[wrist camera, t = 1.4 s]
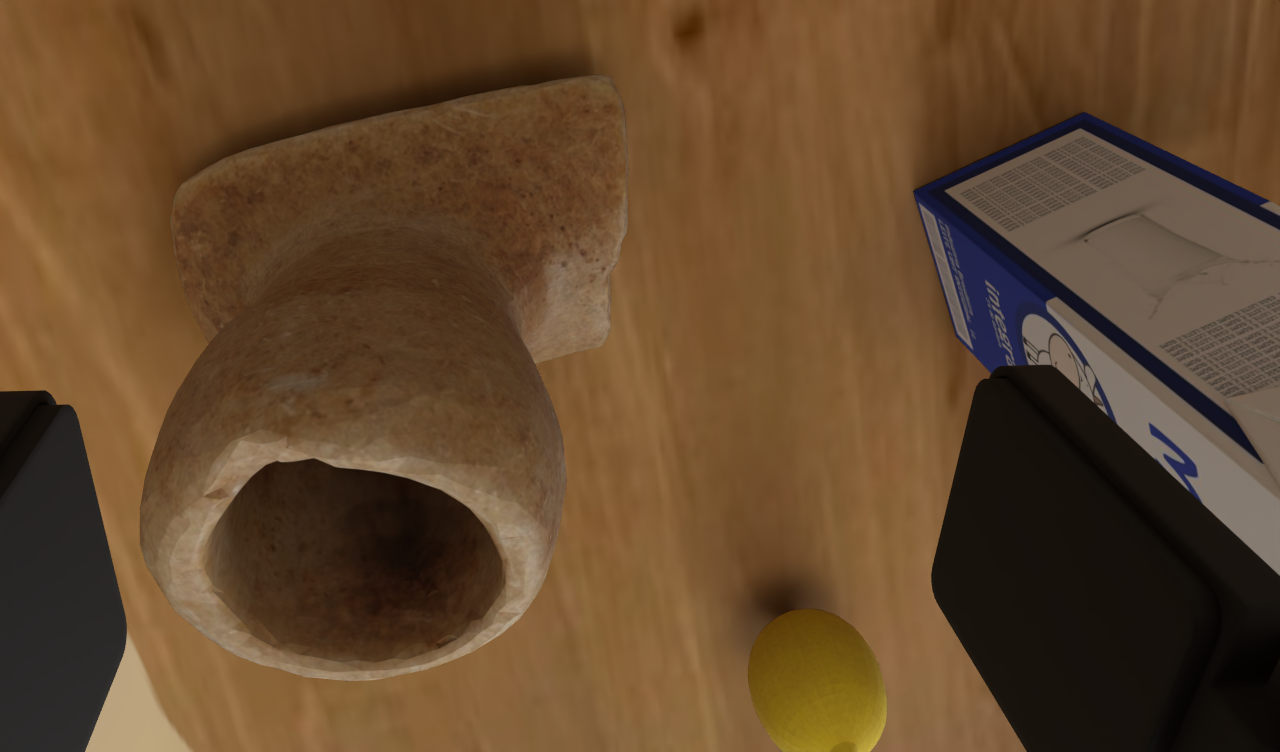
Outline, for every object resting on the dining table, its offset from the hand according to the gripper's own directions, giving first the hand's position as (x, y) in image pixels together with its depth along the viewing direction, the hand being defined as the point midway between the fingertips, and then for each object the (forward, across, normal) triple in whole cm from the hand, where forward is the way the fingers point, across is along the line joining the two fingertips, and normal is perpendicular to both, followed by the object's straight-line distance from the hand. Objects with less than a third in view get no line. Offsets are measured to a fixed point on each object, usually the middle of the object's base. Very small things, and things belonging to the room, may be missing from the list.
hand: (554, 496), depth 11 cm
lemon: (+25, -13, +25) cm, 38 cm away
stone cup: (+25, +2, +8) cm, 27 cm away
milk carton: (+25, -20, +6) cm, 33 cm away
